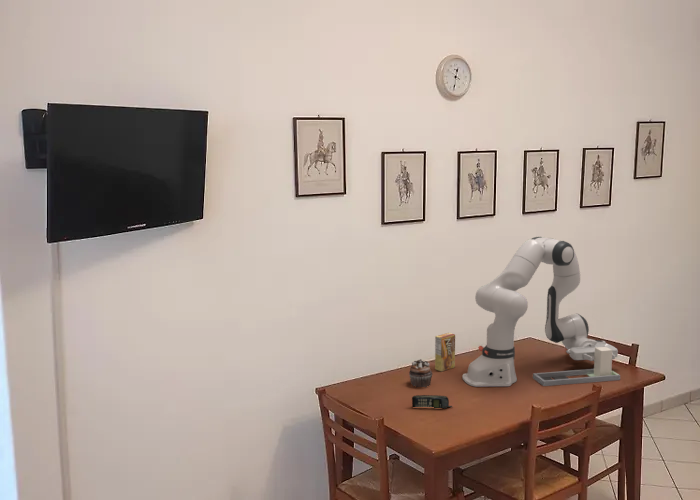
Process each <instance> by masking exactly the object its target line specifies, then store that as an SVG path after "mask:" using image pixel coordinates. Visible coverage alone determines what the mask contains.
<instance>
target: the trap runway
mask: <svg viewBox="0 0 700 500" xmlns="http://www.w3.org/2000/svg"><path fill="white" fill-rule="evenodd" d="M575 376H576V377H575ZM577 376H581V377H577ZM582 376H585V377H582ZM569 377H573V378H569ZM532 379H533V380H535V382H537V383H539V384H540V385H541V386H543V387H548V386H549V387H551V386H561V385H562V386H563V385H565V386H566V385H574V384H576V385H577V384H588V383H596V382H597V383H599V382H611V381H612V382H613V381H621V375H620V374H619V373H617V372H616V371H614V370H611V375H607V376H595V375H594V368H586V369H574V370H561V371H551V372H550V371H549V372H537V373H536V372H535V373H532Z"/></svg>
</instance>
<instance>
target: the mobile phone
mask: <svg viewBox="0 0 700 500" xmlns="http://www.w3.org/2000/svg"><path fill="white" fill-rule="evenodd" d="M411 401H412V402H411V405H412V406H411V407H434V408H444V409H447V407H452V408H453V405H449V404H450V401H449V397H448V396H445V395H440V394H439V395H437V394H435V395H433V394H431V395H429V394H423V395H422V394H420V395H418V394H417V395H413V396H412V397H411Z"/></svg>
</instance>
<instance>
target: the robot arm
mask: <svg viewBox="0 0 700 500" xmlns="http://www.w3.org/2000/svg"><path fill="white" fill-rule="evenodd" d="M541 263H544V264H547V265H552V271H553V272H552V273H553V279H552V283H551V285H550V287H549V288H548V289H547V297H546V320H545V325H544V333H545V336H546V338H547V340H549V341H551V342H553V343H555V344H557V343H562V345H563V346H564V348H565V349H566V350H565V353H566V354H569V358H571V359H572V360H574V361H584V360H585V361H589V362H594V357H595V348H596V347H607V348H609V349H611V350H612V360H615V359H616V358H618V355H619V354H618V353H619V351H618V348H616V347H615V346H614V345H611V344H609V343H607V342H606V341H605V340H601V339H600V340H597V339H592V338H588V337H589V331H590V330H589V324H588V321H587V319H586V317H585V318H584V316H582V315H581V314H579V313H574V314H570V315H567V316H563V317H560V316H559V315H560V313H559V309H560V304H561V302H562V301H563V300H564V299H565V297H567V296H569V294H571V293H572V292H574V291H575V290H576V289H577V288H578V287H579V285H580V283H581V272H580V264H579V261H578V257H577V254H576V251H575V249H574V247H573V245H572V244H571V243H569V242H568V241H565V240H559V239H556V238H552V237H545V236H544V237H542V236H535V237H532V238H530V239H527V240H525V241H524V242H523V243H522V244H521V245H520V246H519V248H518V249H517V250H516V251H515V253H514V254H513V256H512V257H511V259H510V260H509V262H508V264H507V265H506V267H504V269H503V270H502V272H500V274H499V275H498V276H497V277H496V278H494V279H493V280H491V281H490V282H489V283H486V284H485V285H482V286H480V287H479V288H478V289H477V291H476V293H475V302H476V304H477V306H478V307H480V308H481V309H483V310H485V311H487V312H489V313H494V315H495V316H494V320H493V322H492V323H491V324H488V326H487V327H486V344H485V346H482V345H478V349H477V350H478V351H479V352H481V355H479V356H478V357H477V358H476V359H474V360H473V361H472V362H470V363H469V364H468V368H467V372H466V373H463V374H462V375H461V377H462V381H464V382H465V383H466V384H467V385H468V386H471V387H476V388H477V387H481V388H482V387H511V386H512V384H514V383H516V382H517V381H518V379H517V374H516V369H515V357H516V356H515V355H516V351H515V344H514V342H515V340H514V339H515V328H516V325H517V323H518V321H519V319H520V318H521V317H523V316H524V315H525V314H526V313H527V310H528V307H529V306H528V305H529V302H528V299H527V297H526V296H524V295H523V294H521V292H517V291H518V290H519V289H522V288H524V287H526V286H528V285H529V283H530V281H531V280H532V278H533V277H534V275H535V273H536V272H537V269H538V268H539V267H540V264H541ZM559 317H560V318H559Z"/></svg>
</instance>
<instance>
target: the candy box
mask: <svg viewBox="0 0 700 500" xmlns="http://www.w3.org/2000/svg"><path fill="white" fill-rule="evenodd" d="M434 337H435V339H434V340H435V344H434V346H435V347H434V349H435V351H434V352H435V353H434V357H435V358H434V370H435V371H439V372H443V371H444V372H445V371H448V370H451V369H454V368H456V334H455V333H452V332H447V333H444V334H443V333H442V334H438V335H435V336H434Z"/></svg>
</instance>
